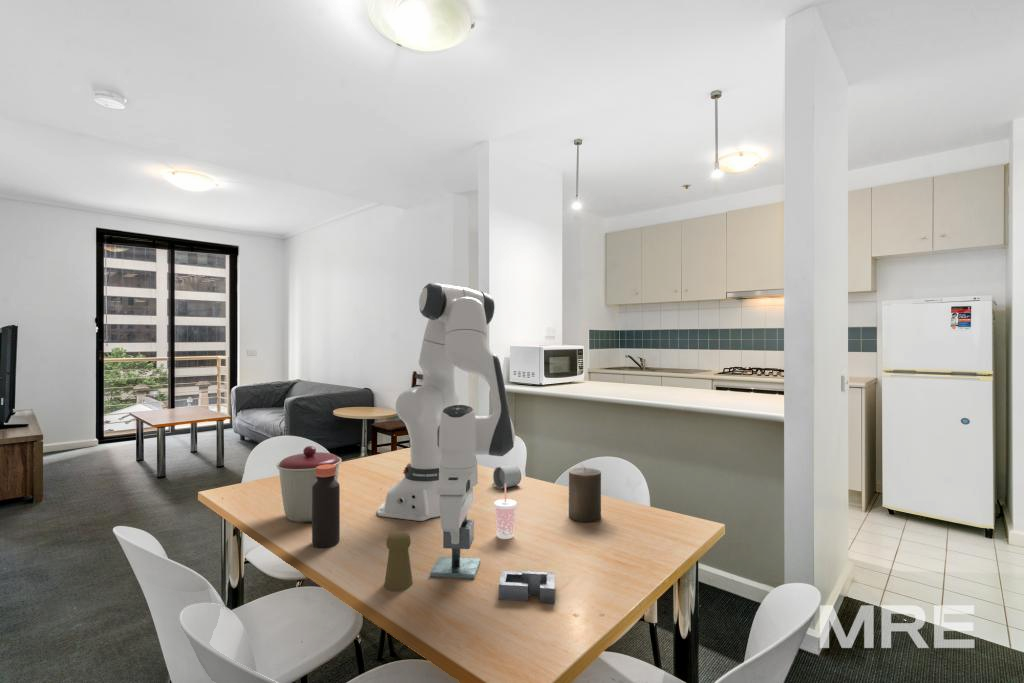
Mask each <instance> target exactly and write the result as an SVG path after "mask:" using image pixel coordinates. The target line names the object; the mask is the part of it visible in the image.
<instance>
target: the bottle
mask: <svg viewBox="0 0 1024 683" xmlns="http://www.w3.org/2000/svg"><path fill="white" fill-rule="evenodd" d="M335 474H336V466H335V465H332V464H326V465H320V466H317V467H316V478H317V482H316V483H315V484H314V485H313V486H312V521H311V544H312V546H313V547H314V548H319V549H321V548H322V549H323V548H324V549H325V548H329V547H330V548H331V547H333V546H336V545H338V544H339V543H340V538H341V537H340V533H341V532H340V527H341V526H340V522H341V521H340V519H341V518H340V516H341V514H340V511H341V509H340V507H341V506H340V505H341V504H340V500H341V499H340V496H341V495H340V492H341V490H340V489H341V488H340V486H341V485H340V483H339V482H338V480H337V481H336V480H335V476H336V475H335Z"/></svg>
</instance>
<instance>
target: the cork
mask: <svg viewBox="0 0 1024 683" xmlns="http://www.w3.org/2000/svg"><path fill="white" fill-rule="evenodd" d="M411 543H412V538H411V535H410V534H409V533H408V532H406V531H394V532H392V533H390V534H389V535H388V536H387V538H386V548H387V549H388V557H387V562H386V571H385V578H384V588H385V589H386V590H388V591H391V592H392V591H394V592H397V591H399V592H400V591H403V590H407V589H409V588H410V587H411V586H413V576H412V574H413V573H412V567H411V560H410V552H409V548H410V546H411Z"/></svg>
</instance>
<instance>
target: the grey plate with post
mask: <svg viewBox="0 0 1024 683" xmlns="http://www.w3.org/2000/svg"><path fill="white" fill-rule="evenodd" d="M437 558H438V559H437V560H436V561H435V563H434V565H433V567H432V569H431V570H430V572H429V573H430V574H429V575H430V578H431V577H433V578H435V577H436V578H450V579H452V578H453V579H470V580H471V579H472V580H473V579H475V578H476V575H477V573H478V570H479V567H480V565H481V558H479V557H478V558H476V557H475V558H474V557H472V558H471V557H461V549H451V556H439V557H437Z"/></svg>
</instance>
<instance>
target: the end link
mask: <svg viewBox="0 0 1024 683" xmlns="http://www.w3.org/2000/svg"><path fill="white" fill-rule="evenodd" d="M459 533H460V542H459V544H452V543H451V534H450V532H446V531H443V530H442V545H443V546H442V547H443V548H442V549H450V550H452V549H460V550H470V548H472V544H473V542H474V540H475V519H467V520H466V519H464V521H463V522H462V524H461V526H460V529H459Z"/></svg>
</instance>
